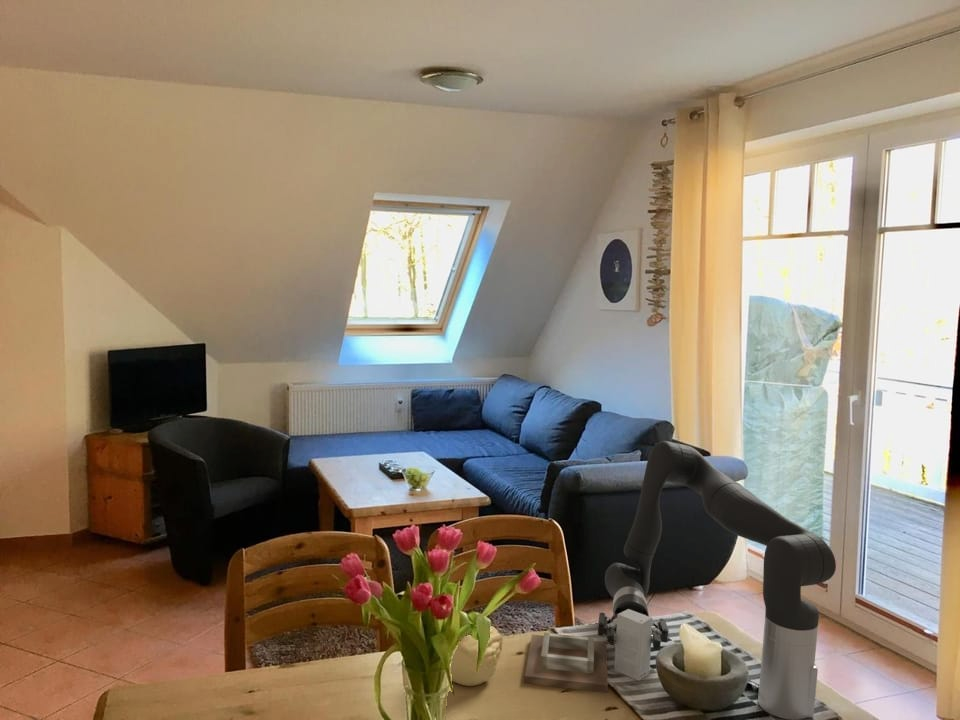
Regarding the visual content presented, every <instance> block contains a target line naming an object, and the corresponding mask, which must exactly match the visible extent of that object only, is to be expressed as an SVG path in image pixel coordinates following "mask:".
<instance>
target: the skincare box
mask: <svg viewBox="0 0 960 720" xmlns="http://www.w3.org/2000/svg"><path fill="white" fill-rule="evenodd" d="M652 621H653V622H654V619H653V617H651V616H650V615H649V616H646V615H643V614H641V613H638V612H635V611H632V610H630V609H627V610H625V611H623V612H621V613H619V614H617V629H616V636H615V648H614V650H615V651H614V664H613V665H614V666H613V670H614V671H615V672H618V673H619V674H622V675H623V676H627V677H629V678H631V679H633V680H636V681H638V682H639V681H641V680H642V679H644V678H646V677H647V676H648V674H649V675H650V672H651V671H650V669H651V653H652V652H651V651H652V640H651V638H652Z"/></svg>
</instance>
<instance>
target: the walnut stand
mask: <svg viewBox="0 0 960 720" xmlns="http://www.w3.org/2000/svg"><path fill="white" fill-rule="evenodd" d="M594 639H595V638H594V637H588V636H579V635H571V634H561V633H551V632H544V633H543V635H539V634H531V637H530V644H529V649H528V655H527V662H526V668H525V673H524V684H527V685H537V686H543V687H544V686H546V687H553V688H563V689H572V690H573V689H574V690H582V691H591V692H600V693H608V690H609V689H608V688H609V687H608V686H609V683H608V681H609V680H608V658H607V657H608V655H607V653H608V652H607V641H598V640H597V641H596V640H594Z"/></svg>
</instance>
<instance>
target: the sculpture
mask: <svg viewBox="0 0 960 720" xmlns="http://www.w3.org/2000/svg"><path fill="white" fill-rule="evenodd" d="M503 642H504V639H503V636H502V634H501V633H499V631H498V630H497V629H496V627H494V626H492V625H490V640H489V643H488V646H487V649H486V652H485V655H484V658H483V660H482V663H481V665H480V668H479V671H478V673H477V674H476V673H475V671H476V662H477V654H478V646H477V641H476V640H475V639H474V638H473V637H472V636H471V635H467V636H465V637H464V638H462V640H461V641H460V643H459V644H458V647H457V649H456V651H455V653H454V655H453V658H452V663H451V674H452V680H451V681H452V682H454V683H457V684H459V685H462V686H467V687H472V686H473V687H475V686H477V685H478V686H479V685H481V684H483V683H485V682H487V681H490V680H491V678H492V677H493V676H494V674H496V668H497V664H498V662H499V660H500V659H501V658H500V657H501V652H502V650H503V646H502V645H503Z"/></svg>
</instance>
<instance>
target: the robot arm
mask: <svg viewBox="0 0 960 720" xmlns="http://www.w3.org/2000/svg"><path fill="white" fill-rule="evenodd" d="M666 482H668V483H672V484H678V485H683V486H686V487H687V488H689V489H691V490H692V491H694V492H695V493H696V494H698V495H699V496H701V501H702V505H703V508H704V509H705V512H706V513H707V515H709V517H711V519H712V520H714V521H715V522H716V523H718V524H719V525H720V526H721V527H722V528H724V529H725V530H727V531H728V532H730V533H732V534H734V535H736V536H739V537H740V538H743V539H747V540H749V541H752V542H754V543H758V544H760V545H763V546H766V548H765V550H764V554H763V556H764V557H763V570H762V571H763V578H762V579H763V580H762V596H763V602H764V607H765V610H764V611H765V614H764V625H763V626H764V627H763V636H762V646H761V647H762V648H761V649H762V650H761V658H760V659H761V662H760V672H759V685H758V696H757V698H758V699H757V701H758V704H759V707H760V708H761V709H763V710H764V711H765V712H766V713H769V714H770V715H772V716H774V717H777V718H781V719H786V720H804V719H806V718H810V719H811V718H812V719H813V718H814V716H815V714H814V713H815V706H816V705H815V703H816V693H817V684H818V683H817V682H818V673H819V672H818V666H817V665H816V663H815V662H816V652H817V651H816V650H817V643H818V642H817V641H818V640H817V639H818V631H819V630H818V629H819V620H820V619H819V617H820V615H819V614H820V612H819V610H818V608H817V607H816V605H814V604H813V603H811V602H809V601H808V600H806V599H803V598H801V597H802V596H801V595H802V594H801V593H802V591H801V590H802V589H801V588H802V587H807V586H815V585H820V584H823V583H825V582H827V581H829V580H830V579H831V578H833V576H834V575H835V573H836V570H837V561H836V558H835V554H834V553H833V551H832V549H831V547H830V546H829V545H828V543H826V541H825V540H824V539H823V538H821V537H820V536H819V535H817V534H815V533H814V532H812V531H810V530H808V529H806V528H805V527H802V526H801V525H799V524H797V523H795V522H793V521H792V520H790V519H789V518H787V517H785V516H784V515H782V514H781V513H779V511H777V510H775V508H773V507H771V506H769V504H767V503H765V502H764V501H763V500H761V499H760V498H759V497H757V496H756V495H755V494H753V493H752V492H751V491H749V490H748V489H746V488H745V487H744V486H743V485H741V484H740V483H738V482H736V480H733V479H732V478H731V477H729V476H728V475H726V474H725V473H723V472H721V471H720V470H718V468H716V467H715V466H714V465H712V464H711V462H710V461H709V460H708V459H706V458H705V456H703V455H702V454H701V452H699V451H698V450H697V449H695V448H694V447H692V446H690V445H687V444H681V443H677V442H673V441H668V440H661V441H658V442H656V444H655V445H654V446H652V449H651V450H650V453H649V455H648V458H647V462H646V466H645V471H644V476H643V481H642V484H641V490H640V495H639V500H638V504H637V509H636V513H635V517H634V520H633V523H632V526H631V529H630V531H629V533H628V537H627V539H626V542H625V544H624V547H623V553H624V556H625V557H627V558H628V559H629V560H630V561H632V562H634V563H635V564H636V565H637V566H638V567H639V568H636V567H632V566H630V565H628V564H624V563H622V562H614V563H612V564H610V566H608V567H607V569H606V571H605V573H604V574H605V575H604V585H605V588H606V590H607V592H608V593H609V595H610V596H611V597H612V598H613V600H612V612H613V615H612V616H608V615H606V613H605V612H599V615H598V616H599V617H598V622H597V635H598V636H604V635H605V636H606V643H608V644H610V646H615V637H616V629H617V614H619V613H621V612H623V611H625V610H627V609H630V610H632V611H635V612H638V613H641V614H643V615H646V616H649V617H650V615H649V609H648V608H649V607H648V603H647V600H646V596H647V594H648V592H649V588H650V580H651V579H650V577H651V568H652V562H653V559H654V555H655V553H656V551H657V547H658V545H659V543H660V540H661V536H662V532H663V519H662V513H661V509H660V508H661V507H660V506H661V505H660V497H661V493H662V489H663V488H664V486H665V484H666ZM669 631H670V630H669V627H668V624H667V622H666V619H665V618H661V617H660V618H659V619H658V621H654V620H653V621H652V638H651V644H652V648H653V651H658V649H660V648H661V646H662V644H661V643H662V642H663V643H668V641H669Z"/></svg>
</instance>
